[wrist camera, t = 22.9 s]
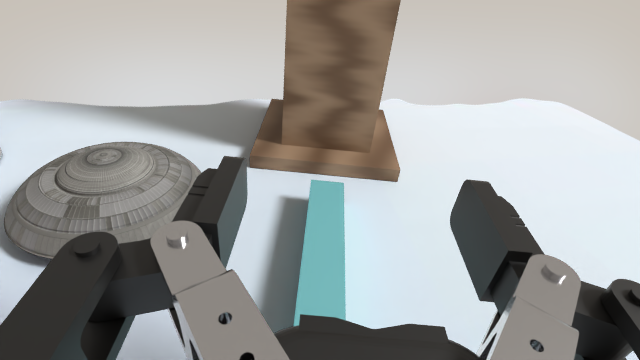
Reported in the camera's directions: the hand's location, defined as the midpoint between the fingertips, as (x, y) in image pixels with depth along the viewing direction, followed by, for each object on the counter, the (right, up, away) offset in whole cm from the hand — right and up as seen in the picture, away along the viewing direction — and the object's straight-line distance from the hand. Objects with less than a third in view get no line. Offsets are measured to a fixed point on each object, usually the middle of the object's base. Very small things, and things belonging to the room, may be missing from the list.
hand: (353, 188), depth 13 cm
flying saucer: (-19, -2, +18) cm, 26 cm away
